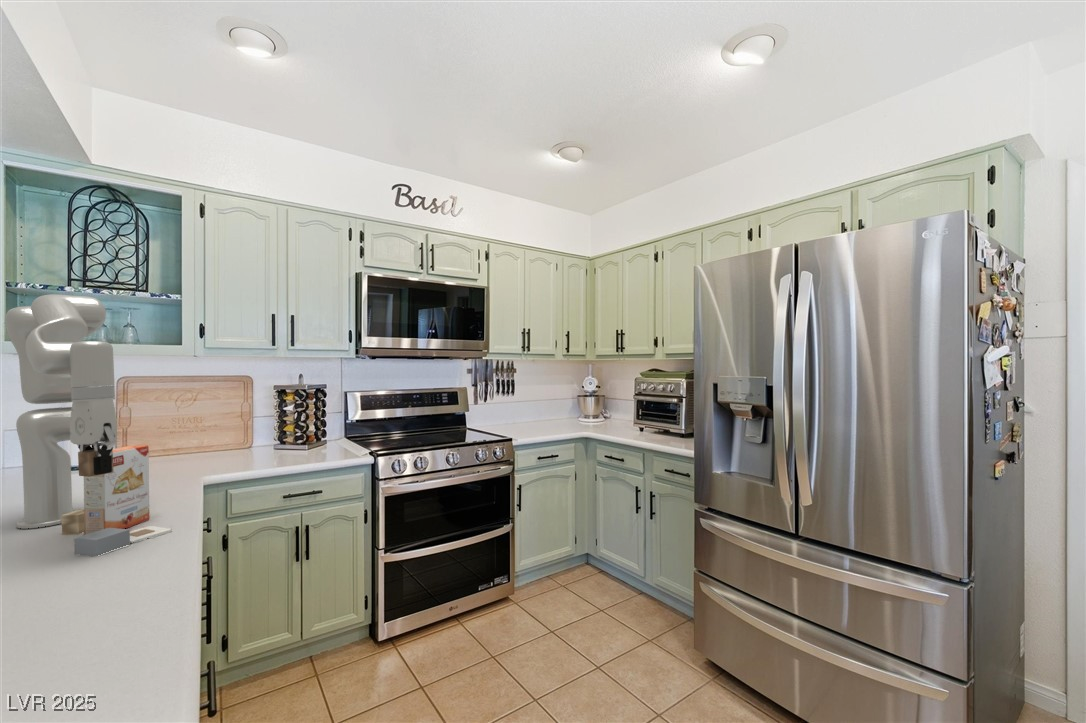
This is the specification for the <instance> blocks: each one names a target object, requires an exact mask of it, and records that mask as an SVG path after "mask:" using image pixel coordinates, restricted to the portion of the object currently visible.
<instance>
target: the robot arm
mask: <svg viewBox="0 0 1086 723" xmlns="http://www.w3.org/2000/svg"><path fill="white" fill-rule="evenodd" d="M106 317H107V311H106V308H105V306H104V304H103V302H102V301H101V300H99V299H98V298H96V297H93V296H85V295H70V294H58V293H57V294H54V293H51V294H44V295H40V296H37V297H36V298H35V299H34V300H33V301H32V303H31V305H28V306H25V305H24V306H17V307H13V308H11V309H9V310H8V311H7V312H6V314H5V317H4V318H5V321H4V322H5V328H6V333H7V336H8V338H9V340H10V342H11V344H12V345H13V346H14V349H15V351H16V353H17V355H18V360H19V361H18V362H19V364H18V365H19V376H20V388H21V394H22V397H23V400H24V401H25V402H26V403H28V404H32V405H34V404H35V405H45V404H47V405H48V404H51V405H52V404H62V403H63V404H64V403H65V404H67V403H71V404H72V405H71V406H65V407H49V408H38V409H37V408H36V409H31V410H29V411H28V410H27V411H26V412H23V413H22V414H20V416H18V417H17V419H16V424H15V425H16V428H15V429H16V433H17V435H18V440H19V443H20V449H21V460H22V484H23V486H22V487H23V488H22V489H23V512H24V514H23V515H24V516H23V517H24V519H21V520H18V521H17V522H16V528H17V529H20V528H21V529H22V530H23V529H24V530H25V529H26V530H27V529H28V528H29V529H39V528H45V526H46V527H51V526H56V525H60V524H61V525H62V519H61V515H64V514H67V513H70V512H74V511H75V510H73V490H72V489H73V488H72V485H73V484H72V462H71V455H70V453H69V452H68V451H67V450H66V449H64V447H61V446H60V445H59V444H58V443H59V442H65V441H70V443H72V444H73V445H77V448H78V449H79V452H81V451H88V450H95V456H96V457H94V458H93V460H94V474H95V475H100V474H105V473H110V472H112V457H111V455H112V453H113V452H112V449H114V447H115V445H116V444H117V439H118V438H117V437H118V428H117V427H118V424H117V423H118V422H117V415H116V409H115V408H116V407H115V402H114V400H116V390H115V389H116V386H115V365H114V363H115V362H114V347H113V345H112V344H111V343H110V342H107V341H100V340H99V341H98V340H96V341H95V340H90V341H88V340H85V341H84V339H85V338H88V337H90V336H92V335H93V334H95V332H96V331H98V330H99V329H100V328H101V327H103V325H104V324H105V321H106ZM82 340H83V341H82ZM38 527H39V528H38Z"/></svg>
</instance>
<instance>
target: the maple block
mask: <svg viewBox="0 0 1086 723" xmlns="http://www.w3.org/2000/svg"><path fill="white" fill-rule="evenodd" d="M73 511H74V512H70V513H67V514H64V515H61V519H62V523H61V535H80V533H81V534H83V533H82V532H84V533H85V526H84V509H76V510H73Z"/></svg>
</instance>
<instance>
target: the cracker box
mask: <svg viewBox="0 0 1086 723" xmlns="http://www.w3.org/2000/svg"><path fill="white" fill-rule="evenodd" d="M149 456H150V454H149V445H145V444H144V445H143V444H142V445H139V444H138V445H126V446H123V447H121V446H120V447H116V448H113V471H114V472H113V473H108V474H102V475H97V476H91V477H87V476H83V510H84V526H85V532H84V535H86V534H89V533H92V532H96V531H99V530H103V529H106V528H117V529H125V528H126V529H128V528H131V527H133V526H135V525H138V524H141V523H144V522H145V521H146V522H147V521H149V520H150V519H151V518H150V517H151V516H150V515H151V514H150V466H149V464H150V460H149V459H150V457H149Z"/></svg>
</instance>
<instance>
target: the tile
mask: <svg viewBox="0 0 1086 723" xmlns="http://www.w3.org/2000/svg"><path fill="white" fill-rule="evenodd" d="M172 532H173V529H172V528H166V527H160V526H155V525H154V526H152V525H147V526H145V527H141V528H138V529H134V530H131V531H130V543H133V542H136V543H138V542H137V541H140V540H143V541H145V540H144V539H146V540H148V539H147V538H149V539H152V538H151V537H153V538H155V536H156V537H159V536H162V535H166V534H168V533H172ZM158 535H159V536H158ZM140 542H141V541H140ZM133 544H134V543H133Z"/></svg>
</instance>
